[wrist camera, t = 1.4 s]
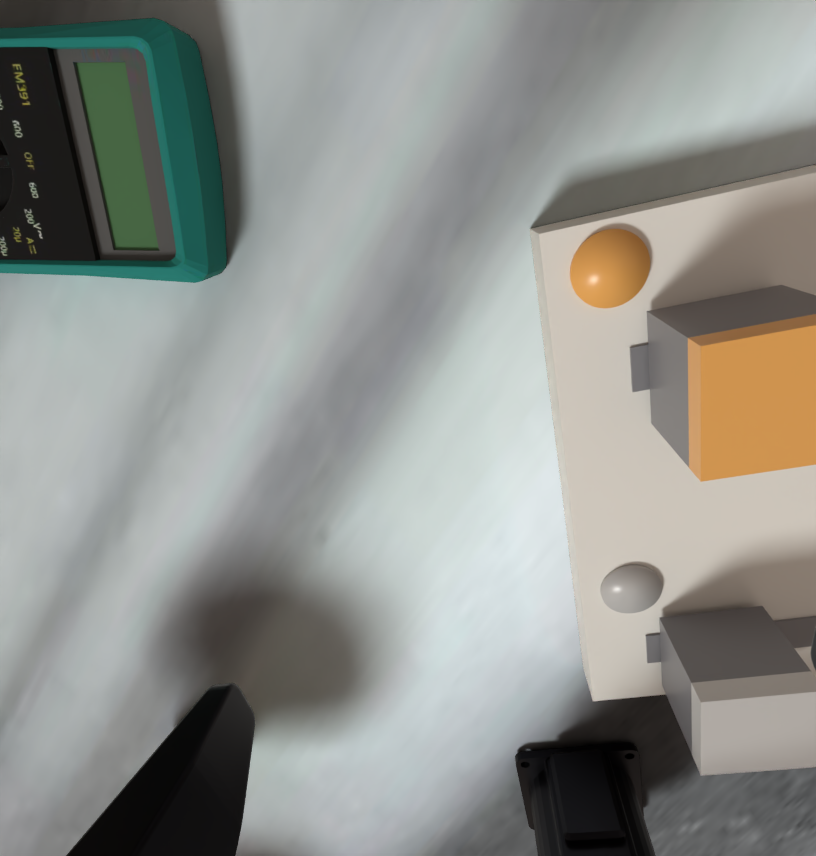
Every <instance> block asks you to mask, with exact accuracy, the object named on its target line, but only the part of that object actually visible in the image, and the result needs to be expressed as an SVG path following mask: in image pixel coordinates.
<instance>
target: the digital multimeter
mask: <svg viewBox="0 0 816 856" xmlns="http://www.w3.org/2000/svg"><path fill="white" fill-rule="evenodd" d="M226 262H227V254H226V230H225V213H224V200H223V186H222V177H221V169H220V162H219V154H218V146H217V139H216V134H215V128H214V123H213V117H212V112H211V106H210V101H209V96H208V91H207V86H206V81H205V76H204V72H203V67H202V62H201V57H200V53H199V50H198V47H197V44H196V42H195V41H194V40H193V39H192V38H191V37H190V36H189V35H188V34H186V33H184V32H182V31H180V30H179V29H177V28H175V27H173V26H172V25H170V24H168V23H166V22H164V21H162V20H159V19H156V18H146V19H133V20H119V21H105V22H91V23H78V24H64V25H50V26H36V27H21V28H0V273H23V274H56V275H86V276H101V277H117V278H132V279H147V280H163V281H178V282H193V283H196V282H200V281H203V280H205V279H208V278H210V277H213V276H215V275H218V274H220V273H222V272H223V270H224V269H225V268H226Z"/></svg>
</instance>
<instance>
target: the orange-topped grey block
mask: <svg viewBox="0 0 816 856" xmlns="http://www.w3.org/2000/svg"><path fill="white" fill-rule="evenodd" d="M647 333H648V357H649V381H650V406H651V424H652V425H653V426H654V427H655V428H656V430H657V431H658V432H659V433H660V434H661V435H662V437H663V438H664V439H665V440H666V441H667V443H668V444H669V445H670V446H671V447H672V448H673V450H674V451H675V452H676V453H677V454H678V456H679V457H680V458H681V459H682V460H683V461H684V463H685V464H686V465H687V466H688V467H689V468H690V470H691V471H692V472H693V473H694V474H695V476H696V477H697V478H698V479H699V480H700V481H701V482H702V481H709V480H716V479H722V478H729V477H736V476H743V475H749V474H756V473H763V472H769V471H776V470H783V469H790V468H796V467H803V466H810V465H816V295H813V294H810V293H806V292H803V291H800V290H797V289H794V288H790V287H787V286H784V285H778V286H772V287H767V288H762V289H757V290H752V291H747V292H742V293H737V294H732V295H726V296H721V297H716V298H711V299H706V300H701V301H696V302H691V303H686V304H680V305H675V306H670V307H665V308H660V309H655V310H650V311H647Z"/></svg>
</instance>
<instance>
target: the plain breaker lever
mask: <svg viewBox="0 0 816 856" xmlns="http://www.w3.org/2000/svg"><path fill="white" fill-rule="evenodd" d="M659 624H660V648H661V672H662V686H663V689H664V691H665V693H666V696H667V698H668V700H669V703H670V705H671V707H672V710H673V712H674V714H675V717H676V719H677V721H678V723H679V726H680V728H681V730H682V733H683V735H684V737H685V740H686V742H687V744H688V747H689V749H690V751H691V754H692V756H693V758H694V761H695V763H696V765H697V768H698V770H699V772H700V775H715V774H728V773H742V772H756V771H769V770H783V769H796V768H810V767H816V677H815V675H814V674H813V673H812V671H811V670H810V669H809V667H808V666H807V665H806V663H805V662H804V661H803V659H802V658H801V657H800V655H799V654H798V653H797V651H796V650H795V649H794V647H793V646H792V645H791V643H790V642H789V641H788V639H787V638H786V637H785V635H784V634H783V633H782V631H781V630H780V629H779V627H778V626H777V625H776V623H775V622H774V621H773V619H772V618H771V616H770V615H769V614H768V612H767V611H766V610H765V608H764V607H763V606H755V607H746V608H737V609H729V610H720V611H711V612H703V613H694V614H685V615H677V616H668V617H659Z"/></svg>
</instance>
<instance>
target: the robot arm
mask: <svg viewBox="0 0 816 856" xmlns="http://www.w3.org/2000/svg"><path fill="white" fill-rule="evenodd" d="M811 660H812V663H813V666H814V668H815V670H816V626H815V631H814V636H813V641H812V646H811ZM254 729H255V717H254V713H253V710H252V708H251V707H250V705H249V703H248V701H247V700H246V698H245V696H244V695H243V693H242V691H241V690H240V688H239V687H238V685H236V684H234V683H228V684H219V685H214V686H212V687H210V688H209V689H208V690H207V691H206V692H205V693H204V694H203V695H202V697H201V698H200V699H199V700H198V701H197V702H196V704H195V705H194V706H193V707H192V708H191V709H190V711H189V712H188V713H187V714H186V715H185V716H184V718H183V719H182V720H181V721H180V722H179V724H178V725H177V726H176V727H175V728H174V729H173V731H172V732H171V733H170V734H169V735H168V736H167V738H166V739H165V740H164V741H163V742H162V744H161V745H160V746H159V747H158V748H157V749H156V751H155V752H154V753H153V754H152V755H151V756H150V758H149V759H148V760H147V761H146V762H145V764H144V765H143V766H142V767H141V768H140V769H139V771H138V772H137V773H136V774H135V775H134V776H133V778H132V779H131V780H130V781H129V782H128V783H127V785H126V786H125V787H124V788H123V789H122V791H121V792H120V793H119V794H118V795H117V796H116V798H115V799H114V800H113V801H112V802H111V803H110V805H109V806H108V807H107V808H106V809H105V811H104V812H103V813H102V814H101V815H100V816H99V818H98V819H97V820H96V821H95V822H94V823H93V825H92V826H91V827H90V828H89V829H88V831H87V832H86V833H85V834H84V835H83V836H82V838H81V839H80V840H79V841H78V842H77V843H76V845H75V846H74V847H73V848H72V849H71V850H70V852H69V853H68V854H67V855H66V856H235V854H236V850H237V845H238V841H239V836H240V831H241V825H242V819H243V813H244V805H245V798H246V790H247V782H248V775H249V767H250V759H251V752H252V744H253V737H254ZM515 761H516V767H517V772H518V777H519V782H520V786H521V791H522V796H523V800H524V805H525V810H526V814H527V819H528V824H529V827H530V828H531V829H534V830H535V837H536V845H537V852H538V856H656V855H655V852H654V849H653V846H652V843H651V839H650V836H649V833H648V830H647V827H646V823H645V820H644V814H643V799H642V785H641V771H640V757H639V753H638V750H637V747H636V746H635V745H634V744H632V743H620V744H608V745H596V746H584V747H572V748H560V749H548V750H536V751H524V752H519V753H518V754H516V756H515Z"/></svg>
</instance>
